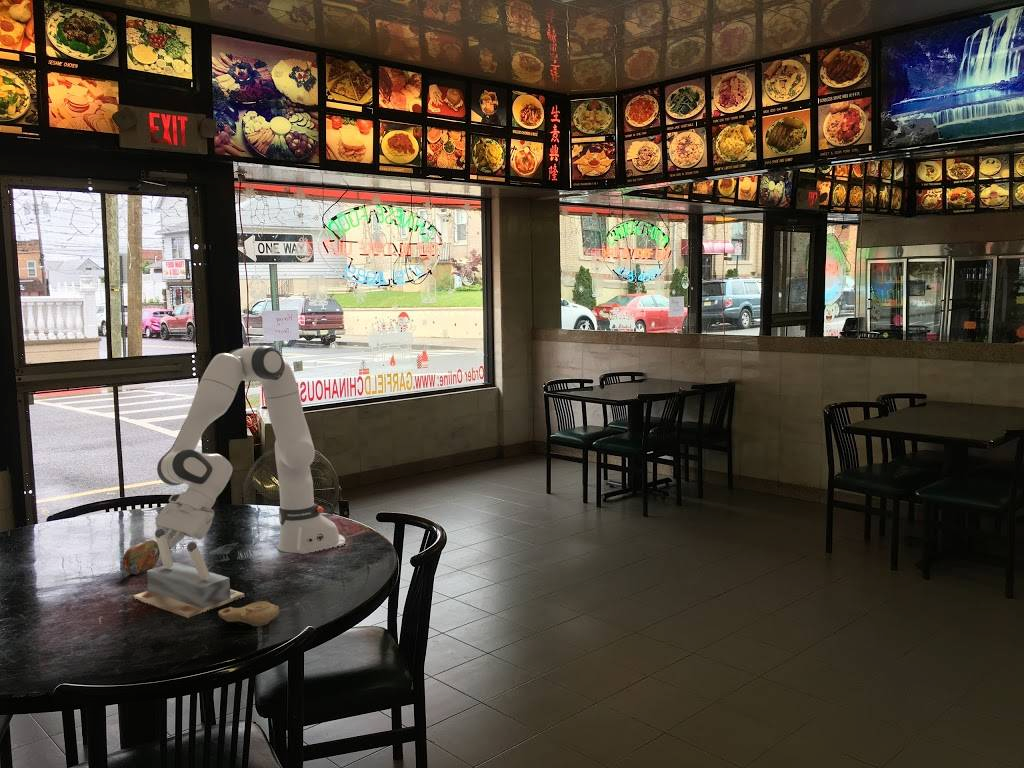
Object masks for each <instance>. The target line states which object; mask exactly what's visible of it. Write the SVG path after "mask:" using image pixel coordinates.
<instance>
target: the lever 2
mask: <svg viewBox="0 0 1024 768" xmlns="http://www.w3.org/2000/svg"><path fill="white" fill-rule="evenodd" d="M186 549H187V552H188V553H189V556H190V558H191V560H192V563H193V565H194V568H196V569H197V572H198V574H199V576H200V578H201V579H205V580H208V579H209V578H210V577H211V576H210V574H209V572H210V571H209V570H208V567H207V565H206V563H205V560H204V558H203V556H202V554H201V551H200V549H199V547H198V545H197V542H193V541H191V542H188V543H187V544H186Z"/></svg>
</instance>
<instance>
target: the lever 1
mask: <svg viewBox="0 0 1024 768" xmlns="http://www.w3.org/2000/svg"><path fill="white" fill-rule="evenodd" d="M154 536H155V537H154V538H155V539H156V540H155V541H156V542H157V544H158V548H159V556H160V559H161V562H162V566H164V567H168V568H170V567H172V566H174V565H173V562H174V561H173V557H172V554H171V552H170V550H171V549H170V547H169V546H168V543H167V539H166V537H167V534H166V532H165V530H163V529H161V528H158V529H156V530H155V533H154Z"/></svg>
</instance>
